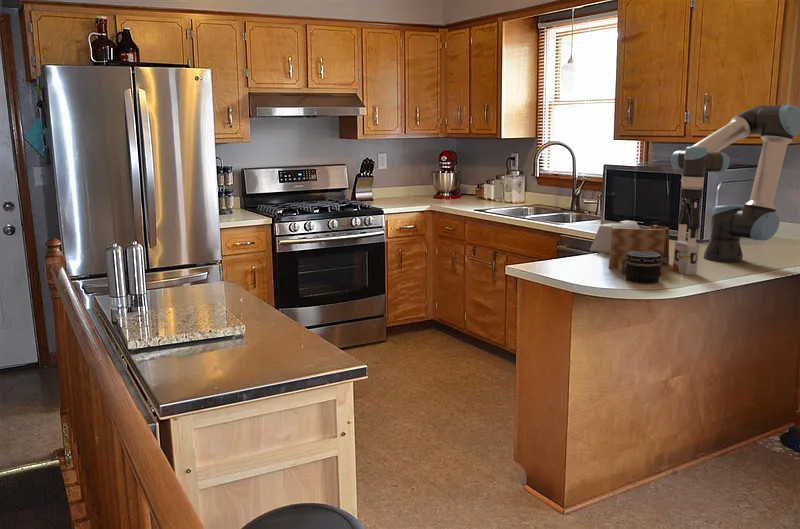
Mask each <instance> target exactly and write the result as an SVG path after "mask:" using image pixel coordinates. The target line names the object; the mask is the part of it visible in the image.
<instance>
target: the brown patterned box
mask: <svg viewBox="0 0 800 529" xmlns="http://www.w3.org/2000/svg"><path fill="white" fill-rule="evenodd" d="M665 231H666V230H665V229H647V228H640V229H633V228H611V242H610V254H609V257H608V258H609V259H608V269H610V270H617V271H618V272H619V273H620V274H621V275H626V274H625V273H624V271H625V268H626V258H625V257H626V255H627V254H628V253H629V252H635V251H643V252H653V253H658V254H660V256H661V257H662V260H661V261H660V262H661V265H660V269H661V272H662V271H663V254H664V243H665Z"/></svg>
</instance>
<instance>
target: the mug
mask: <svg viewBox="0 0 800 529" xmlns="http://www.w3.org/2000/svg"><path fill="white" fill-rule="evenodd" d="M646 229H665V230H666V231H665V243H664V254H663V266H667V265H670V264H669V262H670V236H671V235H670V228H669V226H668V227H667V226H662V225H660V226H659V225H657V224H653V225H649V226H647V228H646ZM663 266H662V267H663Z"/></svg>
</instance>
